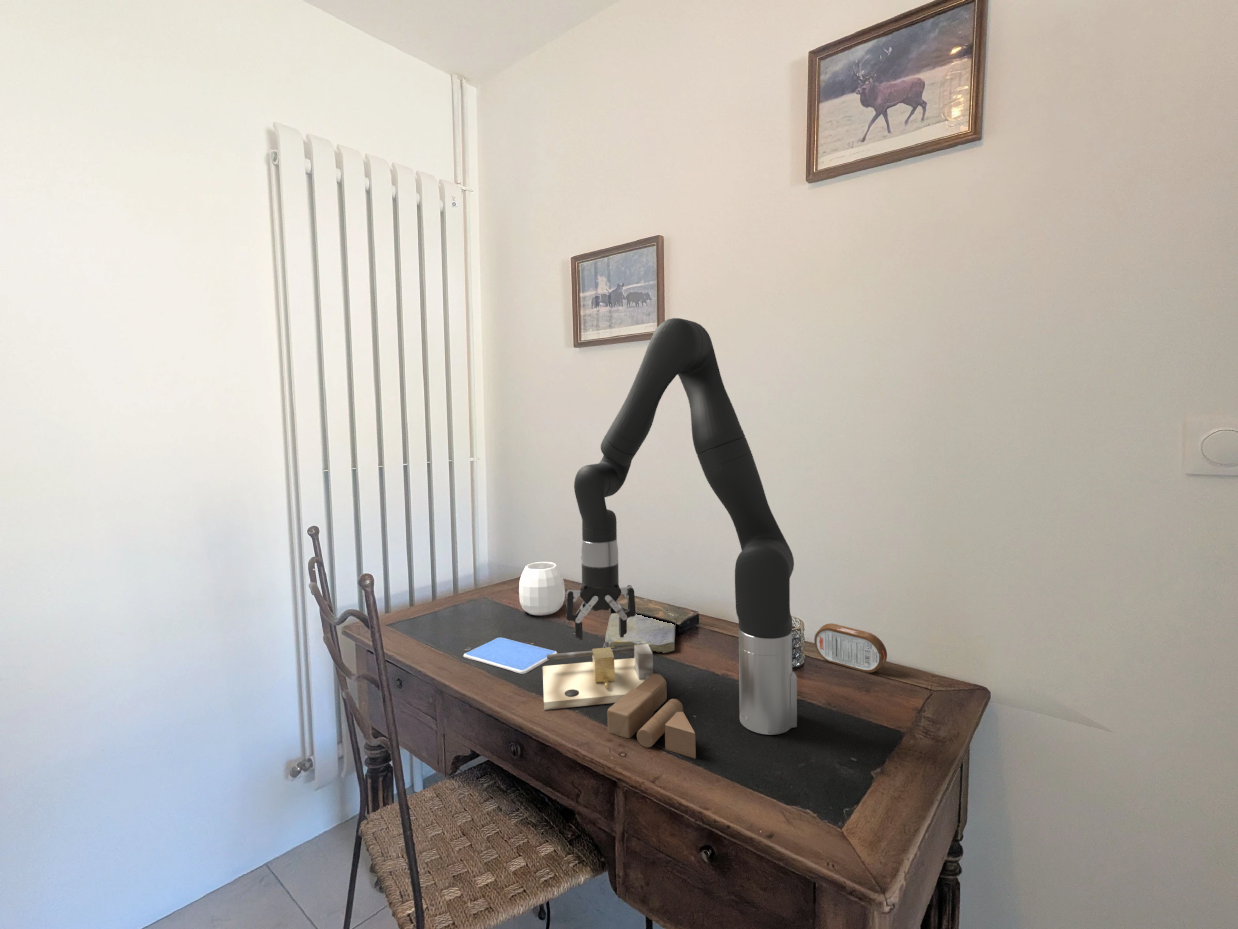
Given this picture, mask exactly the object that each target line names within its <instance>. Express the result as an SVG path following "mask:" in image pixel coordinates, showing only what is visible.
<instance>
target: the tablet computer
mask: <svg viewBox="0 0 1238 929" xmlns="http://www.w3.org/2000/svg"><path fill="white" fill-rule="evenodd" d="M548 654H558V652H557V651H556V650H552V649H548V648H544V647H540V646H536V645H532V644H528V643H525V642H520V641H516V640H512V639H509V638H505V637H497V638H494V639H493V640H491V641H489V642H486V643H484V644H482V645H480V646H478V647H475V648H473V649H471V650H469V651H467V652H465V653H464V654H463V658H465V659H469V660H473V661H477V662H480V663H483V664H487V665H490V666H494V667H497V668H501V669H504V670H508V671H510V672H514V673H516V674H520V675H525V674H528V673H529V672H530V671H532V670H534V669H535V668H538V667H539V666H541V665H543V664H544V663H545V662H548V661H550V660H551V659H547V655H548Z"/></svg>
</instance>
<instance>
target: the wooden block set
mask: <svg viewBox="0 0 1238 929" xmlns="http://www.w3.org/2000/svg"><path fill="white" fill-rule="evenodd" d="M667 691H668V689H667V681H666V679H665V678H664V677H663V675H662V674H659V673H654V672H653V674H652V675H651V676H649V677H648V678H647V679H646V680H645V681H644V682H642V683H641V684H640V685H639V686H638V687H637V688H635V689H631V690H630V691H629V692H628V693H626V694H625V695H624V696H623V697H622V698H621V699H619V700H618V701H617V702H616V703H612V705H611V706H609V708H608V709H607V712H606V713H607V718H606V719H607V732H608V733H609V734H613V735H615V736H619V737H623V738H626V739H630V738H632V737H633V736H634V735H635V734H636V738H637V741H638V744H640V746H642V747H644V748H652V747H653V746H654V745H655V744H656V742H657V741H658V740H659V739H660V738H661V737H662V736H663V735H664V741H665V742H664V746H665V747H664V750H667V751H670V752H673V753H675V754H679V755H683V756H684V757H687V758H688V757H689V758H692V759H697V754H696V753H697V752H696V747H697V746H696V733H695V730H694V729H693V727H692V725H691V724H690V722H689V720H688V718H687V716H686V715H685V713H684V706H683V704H682V702H681V701H680V700H678V699H677V698H671V699H668V698H667V697H668V696H667V695H668V693H667ZM667 699H668V701H667ZM664 703H665V704H664ZM663 704H664V705H663ZM661 705H663V706H661ZM658 709H659V710H658ZM656 711H657V712H656Z"/></svg>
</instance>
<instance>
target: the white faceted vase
mask: <svg viewBox="0 0 1238 929" xmlns="http://www.w3.org/2000/svg"><path fill="white" fill-rule="evenodd" d="M518 586H519V587H518V596H519V604H520V606H521V608H522V610H524V612H526V613H528V614H529V615H533V616H548V615H552V614H554V613H556V612H558V611H559V610H560V609H561V608H562V606H563V605H564V602H565V599H566V598H565V597H566V590H565V589H566V588H565V582H564V578H563V575H562V572H561V571H560V568H558V565H557V564H556V563H554V562H551V561H550V562H549V561H538V562H532V563H528V564H527V565H525V567H524V569H523V570H522V573H521V575H520V578H519V585H518Z"/></svg>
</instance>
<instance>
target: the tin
mask: <svg viewBox="0 0 1238 929" xmlns="http://www.w3.org/2000/svg"><path fill="white" fill-rule="evenodd" d="M814 645H815V647H814V648H815V649H816V651H817V653H818V654H819V655H820V657H822V658H823V659H824V660H825V661H826V662H830V663H831V664H835V665H839V666H842V667H846V668H849V669H853V670H856V671H859V672H863V673H874V672H877V671H878V670H880V669H881V668H882V667H883V666H884V665H885V664H886V662H887V659H888V651H887V648H886V646H885V644H884V643H883V641H882V640H881V639H880V638H879V637H878V636H876V635H875V634H873V633H872V632H870V631H865V630H861V629H858V628H857V629H856V628H853V627H848V626H844V625H841V624H837V623H826V624H824V625H822V626H821V627H820V628H819V629H818V630H817V631H816V632H815V635H814Z"/></svg>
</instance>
